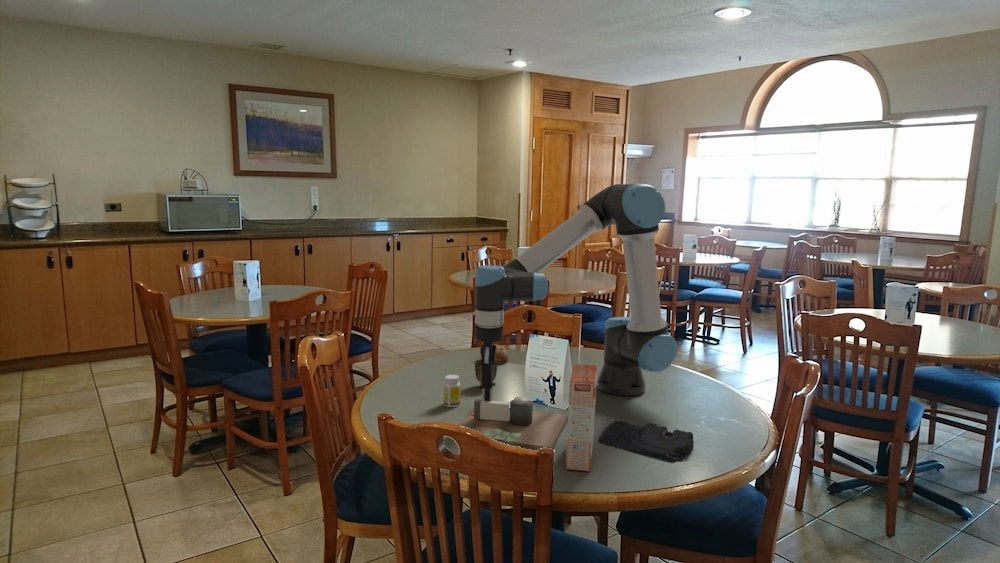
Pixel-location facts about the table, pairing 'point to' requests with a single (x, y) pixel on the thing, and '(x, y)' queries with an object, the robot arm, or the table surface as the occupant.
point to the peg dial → (505, 410)
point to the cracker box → (581, 417)
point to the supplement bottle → (451, 391)
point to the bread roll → (501, 355)
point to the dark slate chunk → (648, 440)
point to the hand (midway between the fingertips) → (487, 410)
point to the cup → (479, 370)
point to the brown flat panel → (521, 429)
